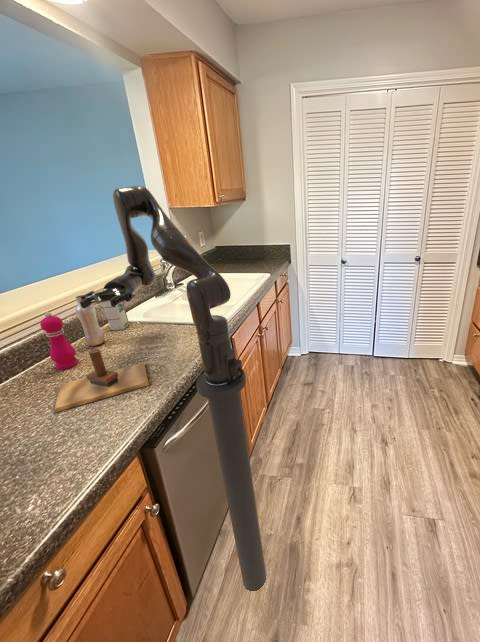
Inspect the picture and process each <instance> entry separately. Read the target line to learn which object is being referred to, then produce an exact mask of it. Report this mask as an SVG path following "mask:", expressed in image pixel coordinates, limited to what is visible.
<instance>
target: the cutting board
mask: <svg viewBox="0 0 480 642" xmlns="http://www.w3.org/2000/svg"><path fill="white" fill-rule="evenodd" d="M112 371H114V372H117V373H118V377H117V378H118V381H117V382H116V383H114V384H113V385H111V386H110V387H106V386H100V385H95V384H91V383H90V380H88V379H87V377H83V378H80V379H75V380H72V381H68V382H64V383H61V384H60V385H59V388H58V393H57V397H56V402H55V406H54V412H55V413H58V412H62V411H65V410H67V409H68V410H69V409H72V408H75V407H79V406H82V405H85V404H86V405H87V404H90V403H92V402H96V401H100V400H103V399H107V398H110V397H113V396H116V395H119V394H123V393H127V392H130V391H133V390H137V389H140V388H144V387H147V386H150V383H149V378H148V374H147V369H146V364H145V362H141V363H138V364H133V365H129V366H125V367H122V368H121V367H120V368H118V369H114V370H112Z"/></svg>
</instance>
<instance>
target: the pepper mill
mask: <svg viewBox="0 0 480 642" xmlns="http://www.w3.org/2000/svg"><path fill="white" fill-rule="evenodd" d="M63 325H64V322H63V320H62V318H61V317H60V316H57V315H52V312H50V311H48V312H47V311H46V313H44V318H42V319H41V320H40V323H39V326H40V328H41V330H42V331H43V332H44V333H45V335H46V337H47V338H48V339H49V342H50V349H49V350H50V351H49V357H50V360H51V361H52V362H54V365H55V368H56V369H57V370H61V371H63V370H67V369H71V368H73V367H75V366H76V365H77V364H78V359H77V357H76V356H75V355H76V353H77V352H76V349H75V347H74V346H73V345H72V344H71V343H70V342H69V341H68V340H67V338H66V337H65V335H64V333H65V330H64V328H63Z"/></svg>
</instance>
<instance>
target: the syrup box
mask: <svg viewBox="0 0 480 642" xmlns="http://www.w3.org/2000/svg"><path fill="white" fill-rule="evenodd" d="M102 306H103V310H104V312H105V315H106V319H107V321H108V324H109V328H110V330H111V331H119V330H125V329H126V328H127V327H128V326H129V325H130V321H129V318H128V315H127V311H126V308H125V305H124V301H123V302H122V303H119V304H117V305H116V306H111V303H110V301H109V302H103V303H102Z"/></svg>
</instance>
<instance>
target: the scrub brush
mask: <svg viewBox="0 0 480 642" xmlns="http://www.w3.org/2000/svg"><path fill="white" fill-rule="evenodd" d="M88 355H89V357H90V360H91V363H92V366H93V369H94V370H93V371H92V372H90V373H88V374H86V375H85V378H87V379H88V380H90V383H91V384H95V385H100V386H106V387H110V386H111V385H113V384H114V383H116V382H117V381H118V378H117V377H118V373H117V372H114V371H113V370H108V369H107V368H106V365H105V361H104V359H103V356H102V353H101V350H100V348H94V349H91V350H89V351H88Z"/></svg>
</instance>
